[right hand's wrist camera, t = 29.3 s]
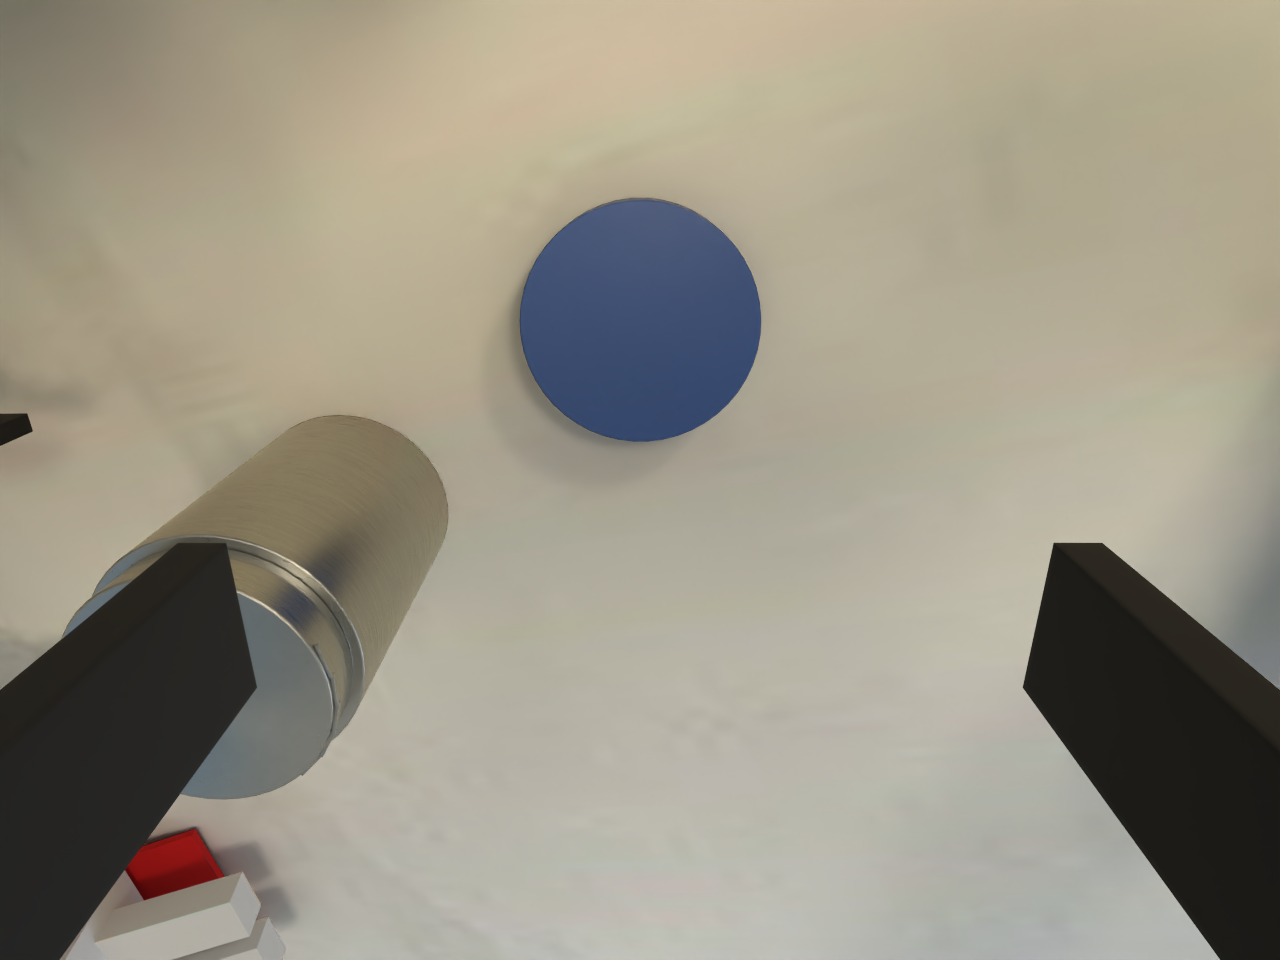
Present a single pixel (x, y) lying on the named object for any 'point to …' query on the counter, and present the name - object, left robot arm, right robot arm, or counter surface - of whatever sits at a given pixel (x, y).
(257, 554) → the jar
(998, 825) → the counter surface
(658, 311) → the lid
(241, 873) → the toy
